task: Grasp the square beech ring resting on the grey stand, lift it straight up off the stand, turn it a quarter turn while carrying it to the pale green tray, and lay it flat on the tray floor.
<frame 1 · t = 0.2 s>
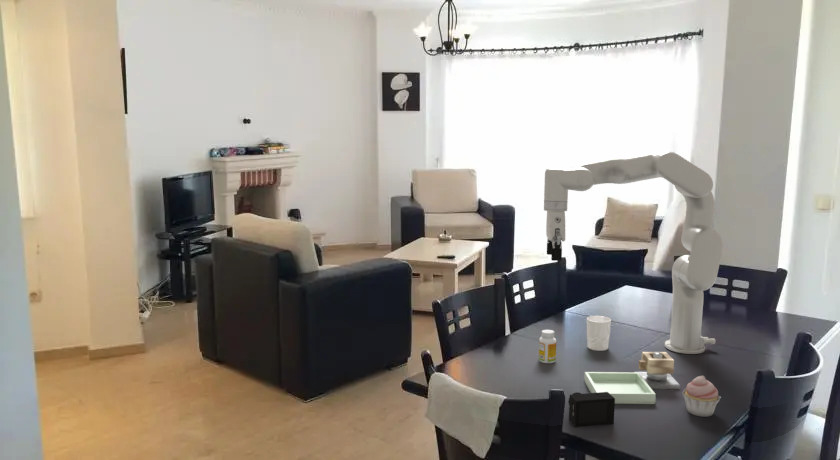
hand: (553, 257, 218), 31 cm above the table, tool pointing down, fingers open, 9 cm apart
grey stand: (656, 382, 193), on the table
cupcake: (700, 412, 173), on the table
supplement bottle: (547, 361, 210), on the table
tray: (618, 392, 186), on the table
digital camera: (590, 421, 168), on the table
ring: (657, 369, 192), point 4 cm above the table, touching grey stand
white cup: (597, 348, 223), on the table
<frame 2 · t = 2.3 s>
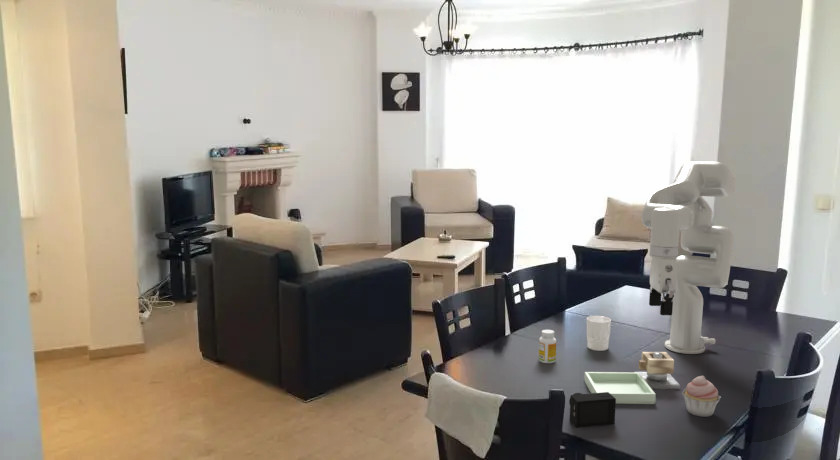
hand: (660, 310, 189), 22 cm above the table, tool pointing down, fingers open, 9 cm apart
nothing on the table moved.
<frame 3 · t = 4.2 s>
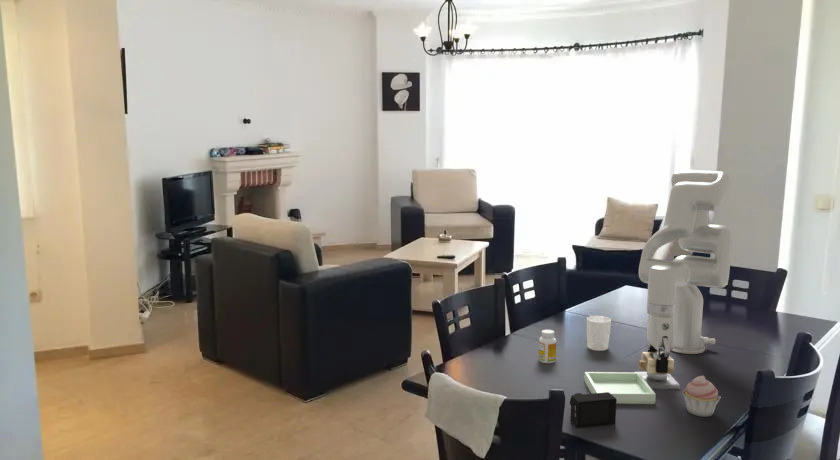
hand: (657, 367, 192), 5 cm above the table, tool pointing down, fingers closed on ring, 7 cm apart
ring: (657, 369, 192), point 4 cm above the table, touching gripper, grey stand
everything else where it was.
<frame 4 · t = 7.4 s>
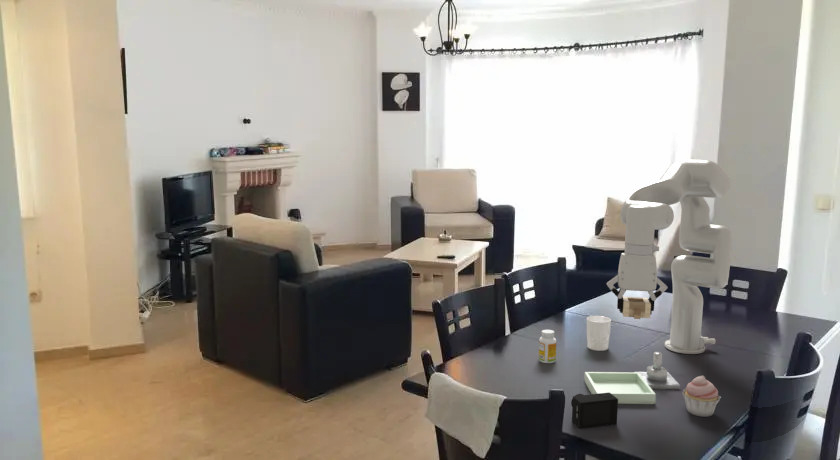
hand: (635, 312, 184), 23 cm above the table, tool pointing down, fingers closed on ring, 7 cm apart
ring: (635, 314, 184), point 22 cm above the table, touching gripper
everything else where it was.
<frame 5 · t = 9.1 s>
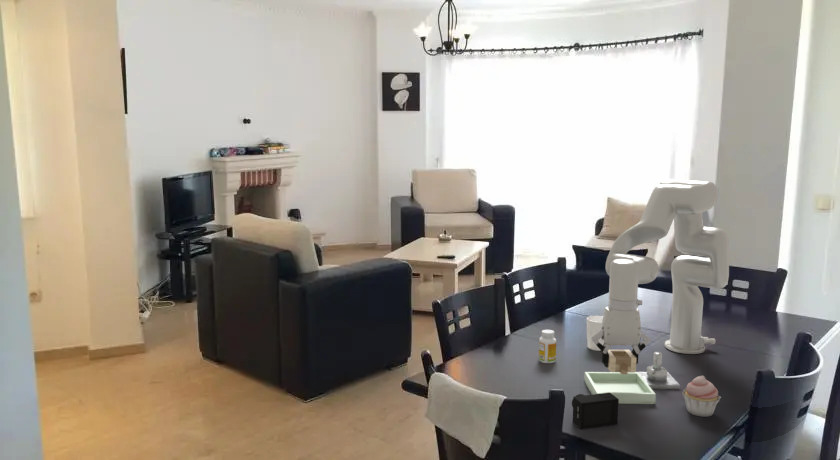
hand: (619, 365, 185), 8 cm above the table, tool pointing down, fingers closed on ring, 7 cm apart
ring: (619, 367, 185), point 7 cm above the table, touching gripper
when the fingers open (2 cm above the table, at t = 10.6 s): ring drops 1 cm, resting on tray.
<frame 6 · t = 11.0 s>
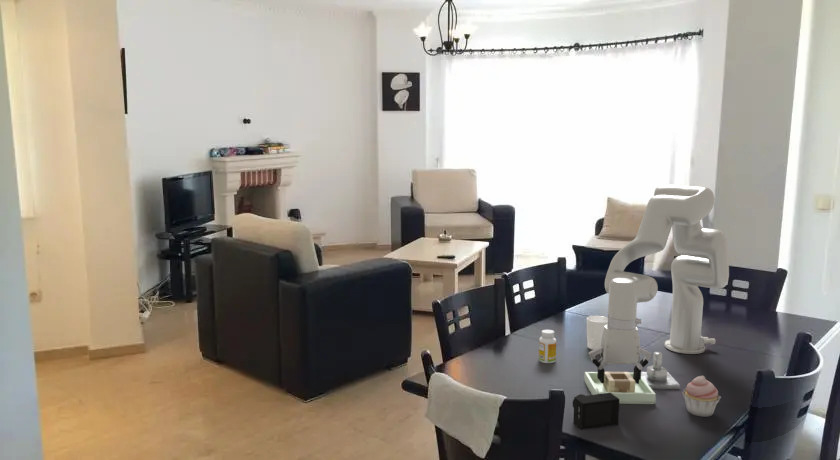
hand: (618, 381, 185), 3 cm above the table, tool pointing down, fingers open, 9 cm apart
ring: (618, 389, 186), point 1 cm above the table, touching tray
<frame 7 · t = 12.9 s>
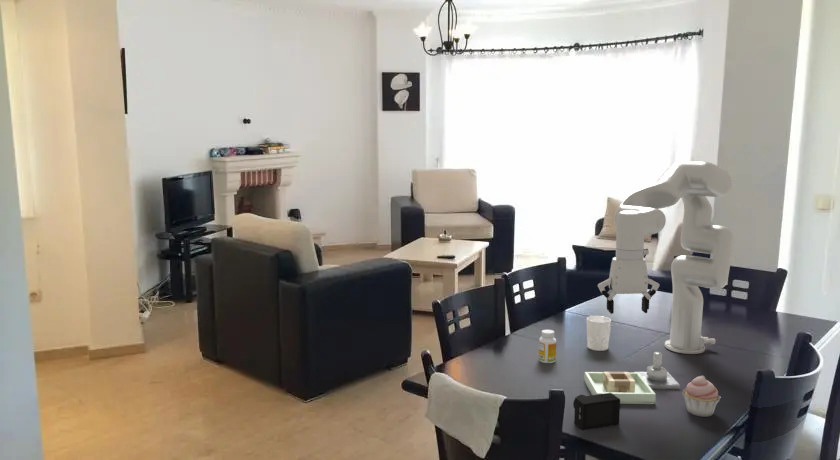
hand: (627, 312, 190), 21 cm above the table, tool pointing down, fingers open, 9 cm apart
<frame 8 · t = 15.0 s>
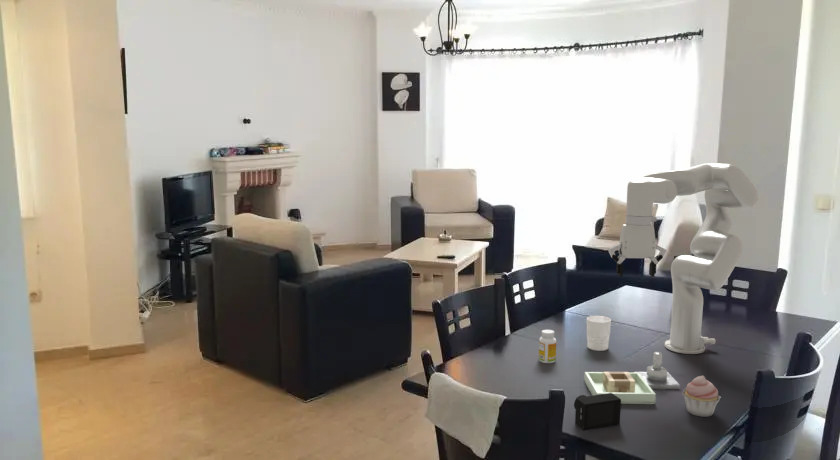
hand: (635, 275, 203), 28 cm above the table, tool pointing down, fingers open, 9 cm apart
at the end: ring inside the target area on the tray (0.0 cm from its centre), point 0.6 cm above the tray's base; ring tilted 0°; the gripper is holding nothing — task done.
